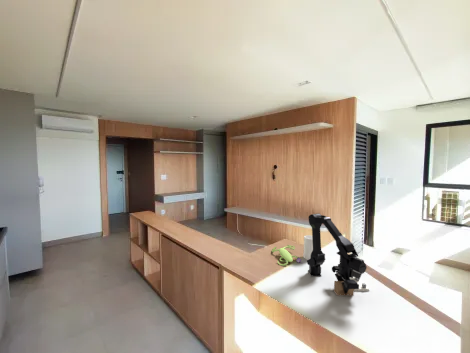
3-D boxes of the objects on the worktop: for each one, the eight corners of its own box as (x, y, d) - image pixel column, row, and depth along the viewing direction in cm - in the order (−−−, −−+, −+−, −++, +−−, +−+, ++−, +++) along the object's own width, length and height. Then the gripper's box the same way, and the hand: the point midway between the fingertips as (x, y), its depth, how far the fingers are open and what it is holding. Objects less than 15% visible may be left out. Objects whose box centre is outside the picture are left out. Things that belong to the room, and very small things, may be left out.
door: (337, 295, 119) (337, 285, 119) (333, 290, 123) (334, 280, 123) (354, 295, 119) (355, 285, 119) (350, 290, 123) (351, 280, 123)
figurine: (292, 249, 177) (292, 243, 177) (304, 266, 151) (305, 258, 150) (270, 250, 176) (270, 243, 176) (278, 267, 150) (279, 259, 149)
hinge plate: (349, 290, 123) (349, 285, 123) (341, 280, 133) (341, 275, 133) (368, 290, 123) (369, 285, 123) (358, 280, 133) (359, 275, 133)
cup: (313, 261, 157) (314, 240, 156) (302, 258, 162) (302, 237, 160) (315, 256, 164) (316, 236, 163) (304, 254, 169) (305, 234, 167)
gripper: (370, 273, 110) (368, 302, 112) (350, 256, 129) (349, 281, 130) (348, 273, 110) (346, 302, 112) (332, 256, 129) (330, 281, 130)
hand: (343, 291), depth 121 cm, fingers closed on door, 4 cm apart
